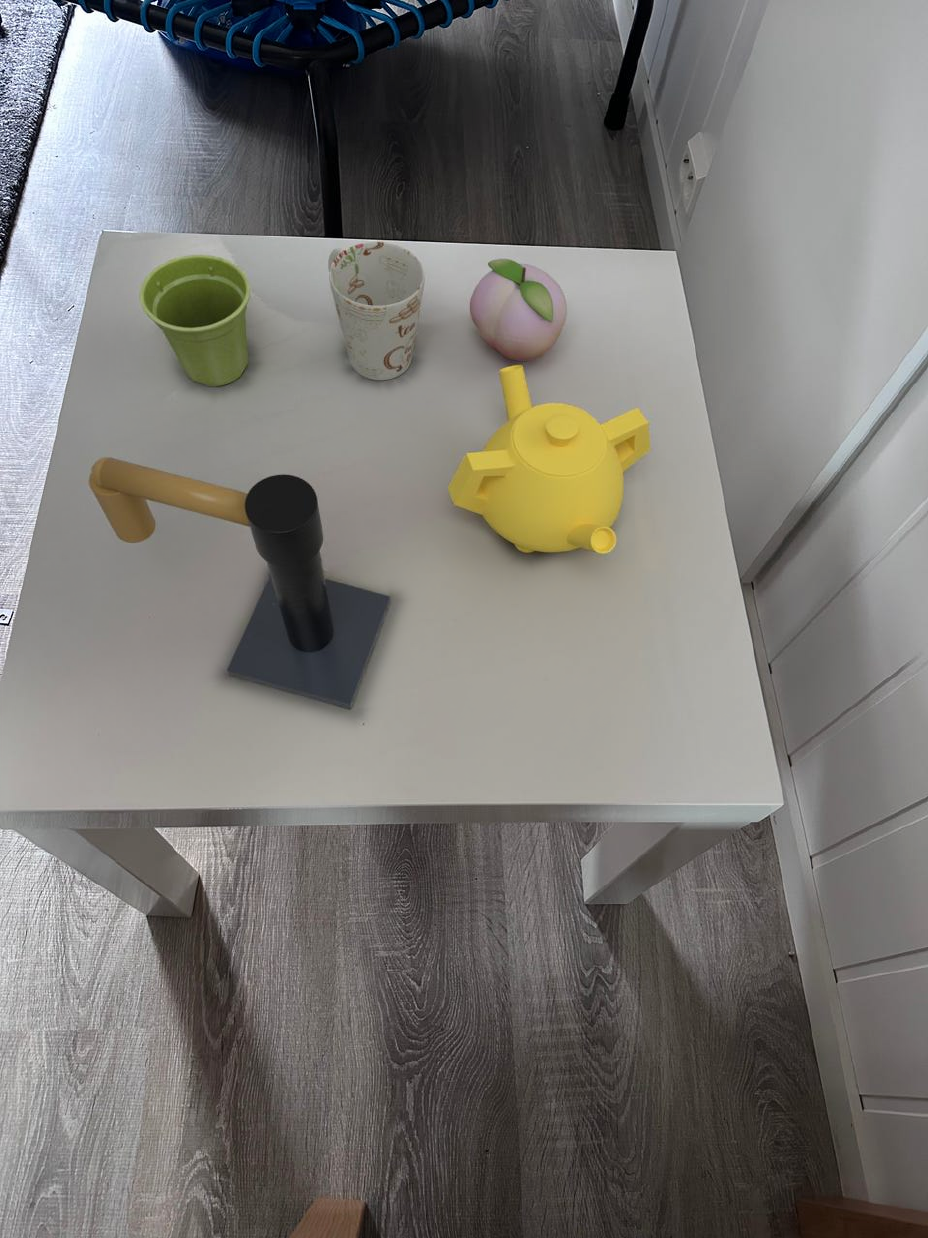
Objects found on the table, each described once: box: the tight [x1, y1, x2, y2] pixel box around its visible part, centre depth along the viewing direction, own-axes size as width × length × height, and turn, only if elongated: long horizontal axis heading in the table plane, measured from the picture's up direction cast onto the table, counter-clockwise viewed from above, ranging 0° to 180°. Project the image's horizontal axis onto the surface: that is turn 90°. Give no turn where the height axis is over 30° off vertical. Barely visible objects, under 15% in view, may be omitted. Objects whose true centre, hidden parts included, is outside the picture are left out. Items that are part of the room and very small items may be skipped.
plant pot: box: [139, 254, 251, 387], centre depth 77 cm, size 9×9×9 cm
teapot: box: [447, 364, 651, 555], centre depth 70 cm, size 20×18×11 cm
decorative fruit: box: [469, 258, 568, 361], centre depth 80 cm, size 9×8×10 cm
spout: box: [88, 456, 324, 567], centre depth 55 cm, size 16×4×8 cm, turn 75°
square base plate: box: [226, 549, 391, 711], centre depth 62 cm, size 10×10×14 cm
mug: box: [327, 241, 426, 381], centre depth 79 cm, size 8×13×10 cm, turn 39°
